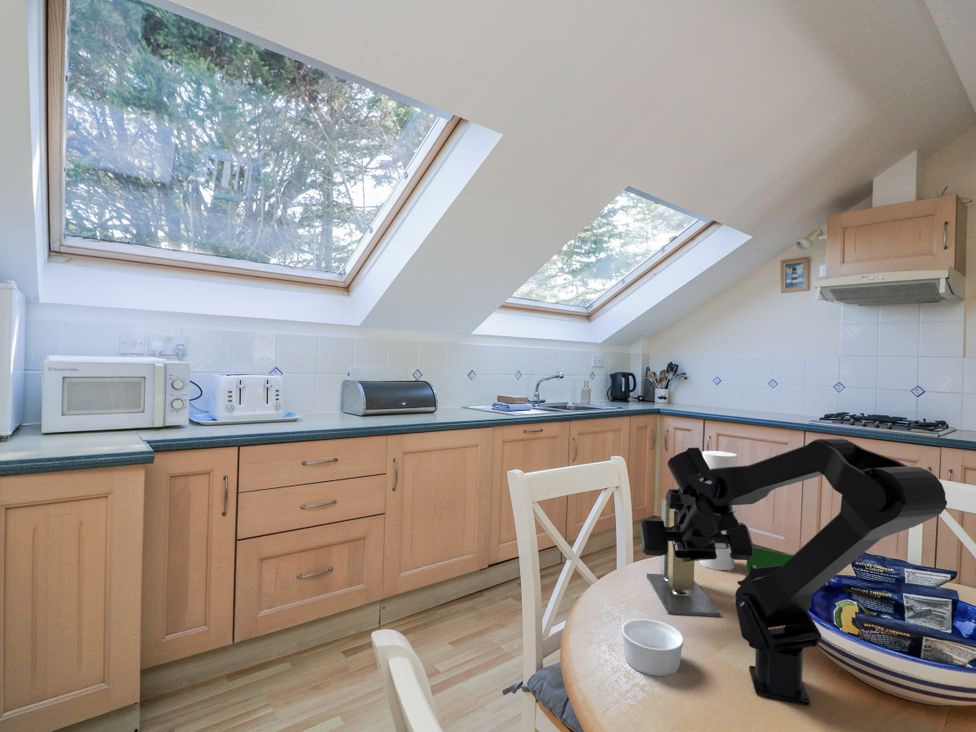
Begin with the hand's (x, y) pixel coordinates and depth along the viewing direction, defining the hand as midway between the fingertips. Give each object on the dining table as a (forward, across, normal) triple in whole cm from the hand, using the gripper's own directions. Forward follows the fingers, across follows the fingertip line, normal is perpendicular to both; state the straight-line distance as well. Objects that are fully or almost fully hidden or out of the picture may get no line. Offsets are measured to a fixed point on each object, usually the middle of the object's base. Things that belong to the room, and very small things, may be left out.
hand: (683, 559), depth 98 cm
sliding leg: (+7, 0, +4) cm, 8 cm away
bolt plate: (+7, 0, +4) cm, 8 cm away
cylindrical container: (+19, -13, -8) cm, 24 cm away
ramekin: (-10, +11, +21) cm, 26 cm away
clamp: (+15, -24, -4) cm, 29 cm away
